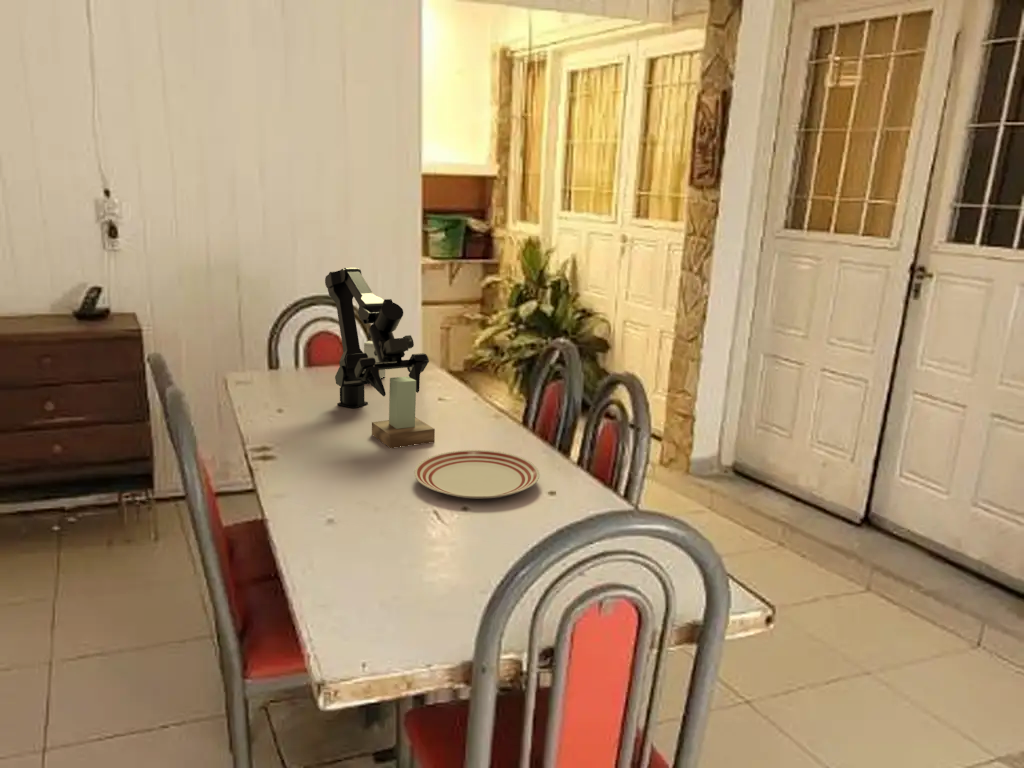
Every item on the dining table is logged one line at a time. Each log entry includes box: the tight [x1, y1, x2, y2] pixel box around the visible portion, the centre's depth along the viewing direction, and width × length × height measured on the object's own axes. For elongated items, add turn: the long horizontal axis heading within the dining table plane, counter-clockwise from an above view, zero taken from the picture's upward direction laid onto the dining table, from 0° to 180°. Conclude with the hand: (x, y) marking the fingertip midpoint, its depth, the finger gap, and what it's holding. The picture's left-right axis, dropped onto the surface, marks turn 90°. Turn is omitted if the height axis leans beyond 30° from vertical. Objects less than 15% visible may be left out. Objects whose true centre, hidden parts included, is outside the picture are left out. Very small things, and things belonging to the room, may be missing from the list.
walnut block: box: [371, 416, 436, 449], centre depth 208 cm, size 12×12×4 cm
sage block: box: [388, 376, 417, 429], centre depth 206 cm, size 5×5×12 cm
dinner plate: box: [413, 449, 541, 500], centre depth 180 cm, size 28×27×3 cm
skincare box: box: [363, 340, 386, 379], centre depth 269 cm, size 6×4×12 cm
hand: (401, 393), depth 207 cm, fingers open, 9 cm apart
